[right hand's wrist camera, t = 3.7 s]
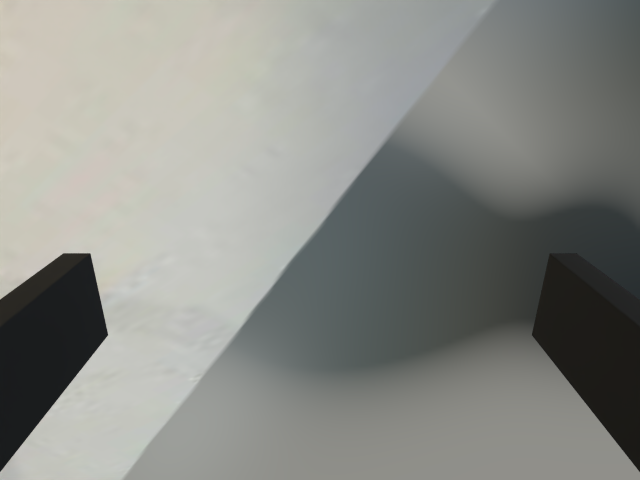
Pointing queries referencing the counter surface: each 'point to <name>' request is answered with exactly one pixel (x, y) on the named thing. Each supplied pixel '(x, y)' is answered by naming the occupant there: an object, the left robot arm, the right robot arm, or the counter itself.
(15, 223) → the counter surface
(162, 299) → the counter surface
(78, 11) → the counter surface
